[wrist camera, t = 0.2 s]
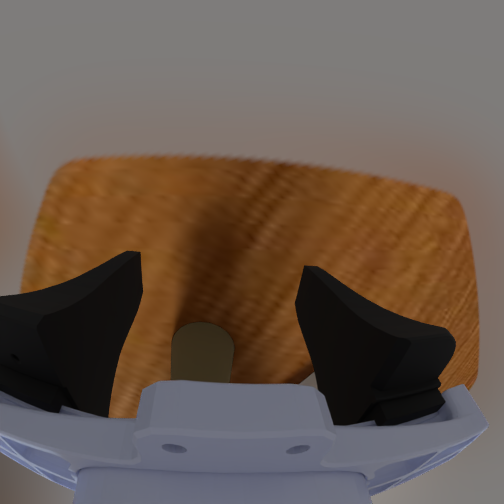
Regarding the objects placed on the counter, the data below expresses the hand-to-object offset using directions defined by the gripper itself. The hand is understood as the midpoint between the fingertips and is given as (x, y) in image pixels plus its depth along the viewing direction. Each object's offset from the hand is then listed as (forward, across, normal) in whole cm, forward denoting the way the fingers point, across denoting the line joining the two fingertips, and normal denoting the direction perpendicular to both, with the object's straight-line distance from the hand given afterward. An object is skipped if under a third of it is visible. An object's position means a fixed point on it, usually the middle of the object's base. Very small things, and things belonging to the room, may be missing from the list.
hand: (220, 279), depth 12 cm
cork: (+9, +1, +13) cm, 16 cm away
